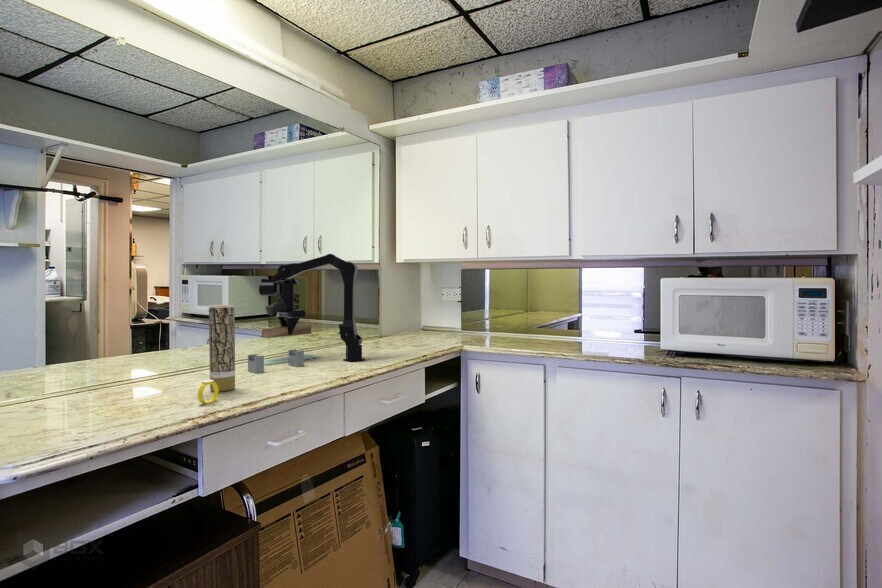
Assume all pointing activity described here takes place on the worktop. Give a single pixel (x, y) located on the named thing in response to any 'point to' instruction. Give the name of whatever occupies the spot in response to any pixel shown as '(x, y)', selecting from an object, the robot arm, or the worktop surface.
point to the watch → (201, 389)
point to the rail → (285, 331)
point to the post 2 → (296, 357)
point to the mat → (285, 359)
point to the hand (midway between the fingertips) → (287, 334)
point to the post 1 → (255, 363)
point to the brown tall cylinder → (222, 346)
